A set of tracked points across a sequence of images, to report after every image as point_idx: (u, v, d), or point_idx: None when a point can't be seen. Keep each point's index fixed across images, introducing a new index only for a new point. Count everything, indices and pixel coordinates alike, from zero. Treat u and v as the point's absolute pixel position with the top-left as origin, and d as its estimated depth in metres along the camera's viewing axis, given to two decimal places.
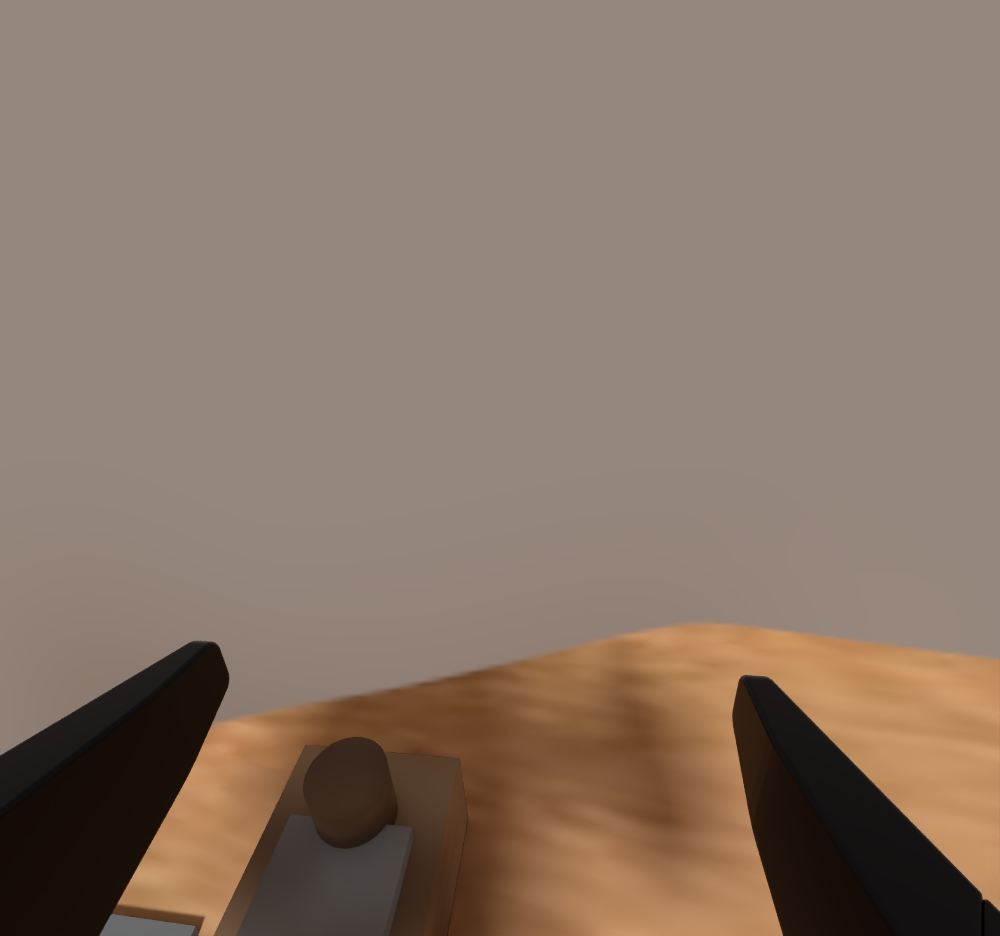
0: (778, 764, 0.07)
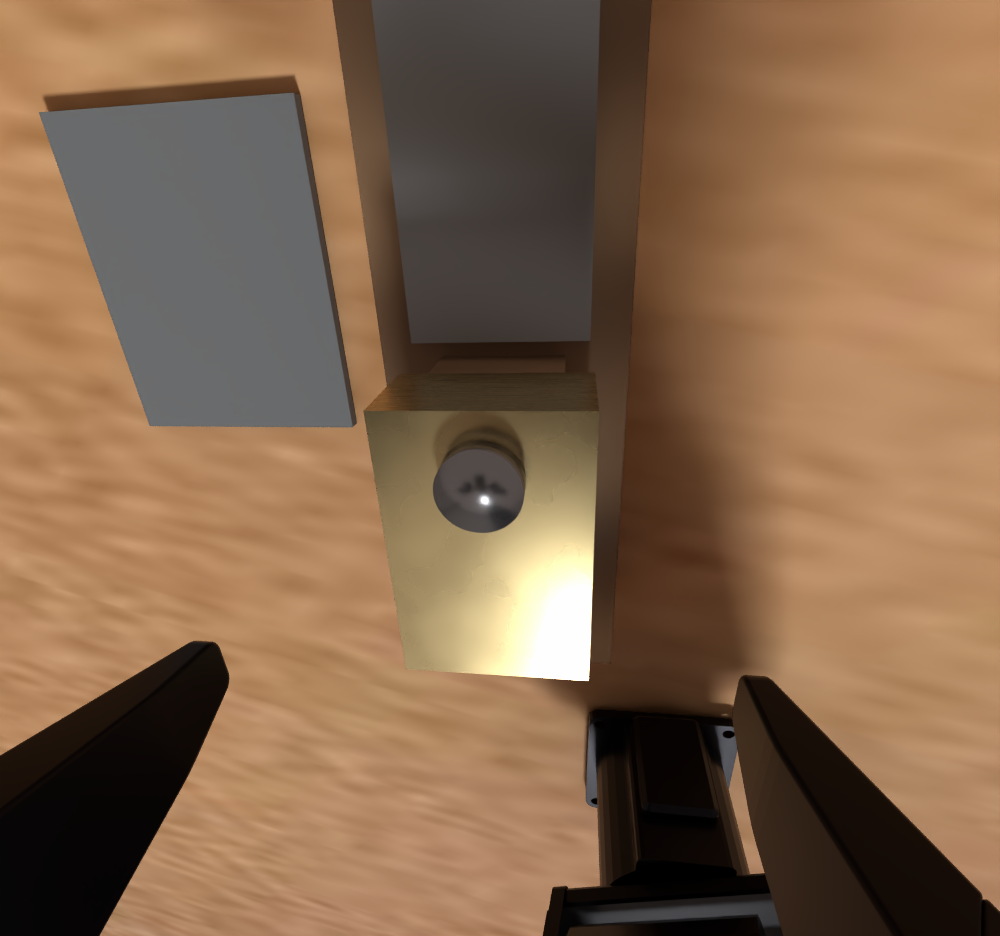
0: (778, 764, 0.07)
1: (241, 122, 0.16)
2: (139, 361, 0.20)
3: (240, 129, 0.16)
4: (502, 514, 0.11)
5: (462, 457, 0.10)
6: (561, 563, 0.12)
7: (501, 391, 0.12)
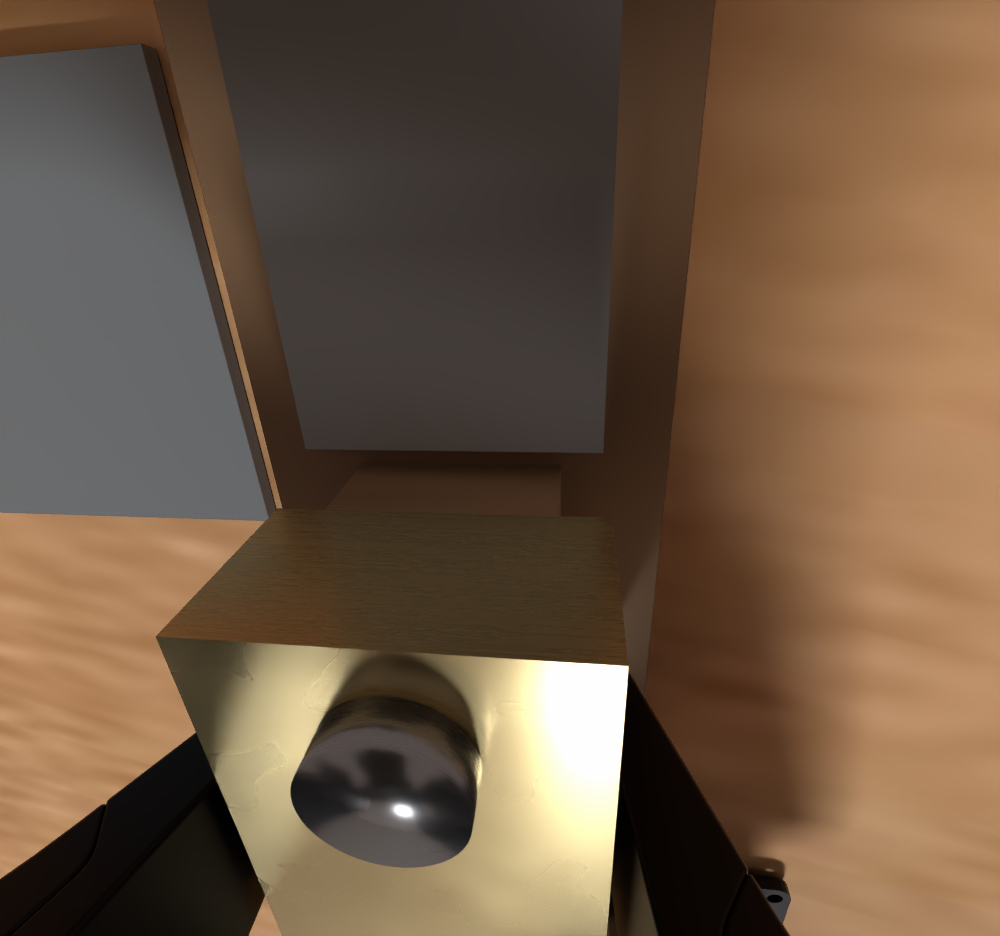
0: None
1: (69, 92, 0.10)
2: None
3: (68, 102, 0.10)
4: (431, 846, 0.05)
5: (341, 756, 0.05)
6: (551, 880, 0.06)
7: (439, 576, 0.06)
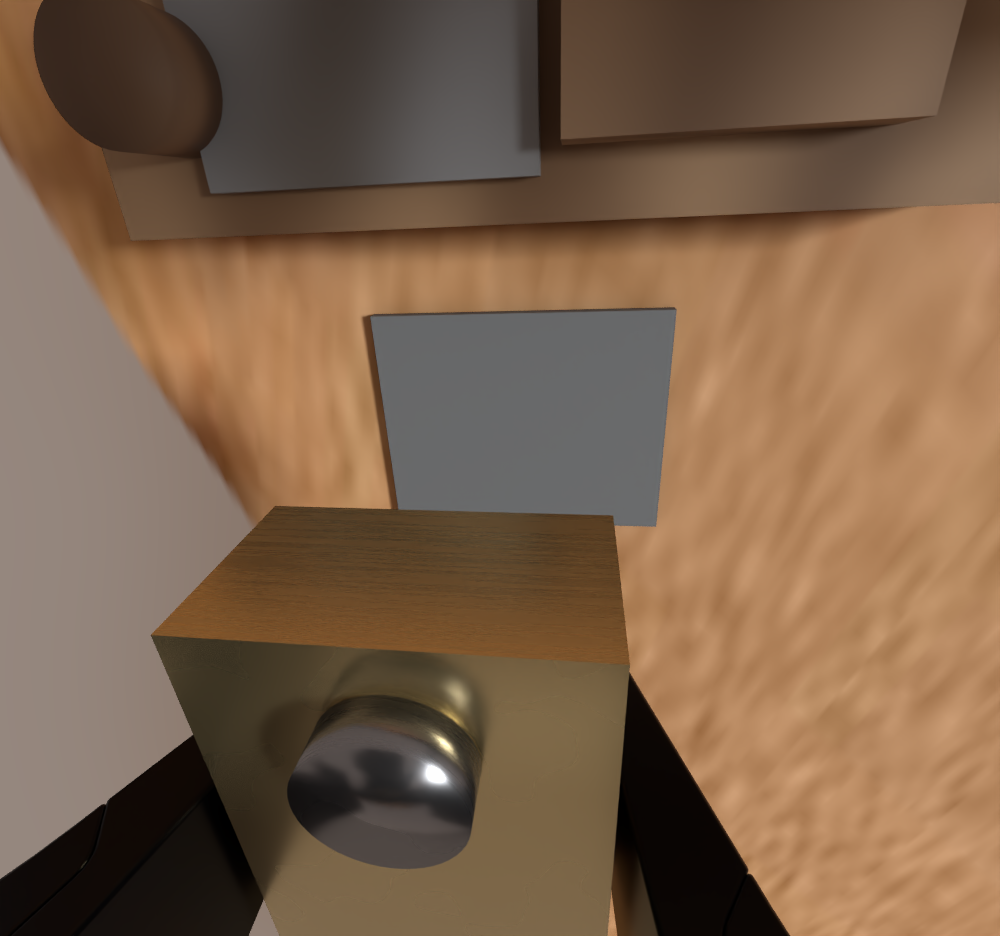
0: None
1: (394, 365, 0.19)
2: (589, 513, 0.21)
3: (399, 368, 0.19)
4: (430, 847, 0.05)
5: (340, 757, 0.05)
6: (551, 881, 0.06)
7: (437, 573, 0.06)
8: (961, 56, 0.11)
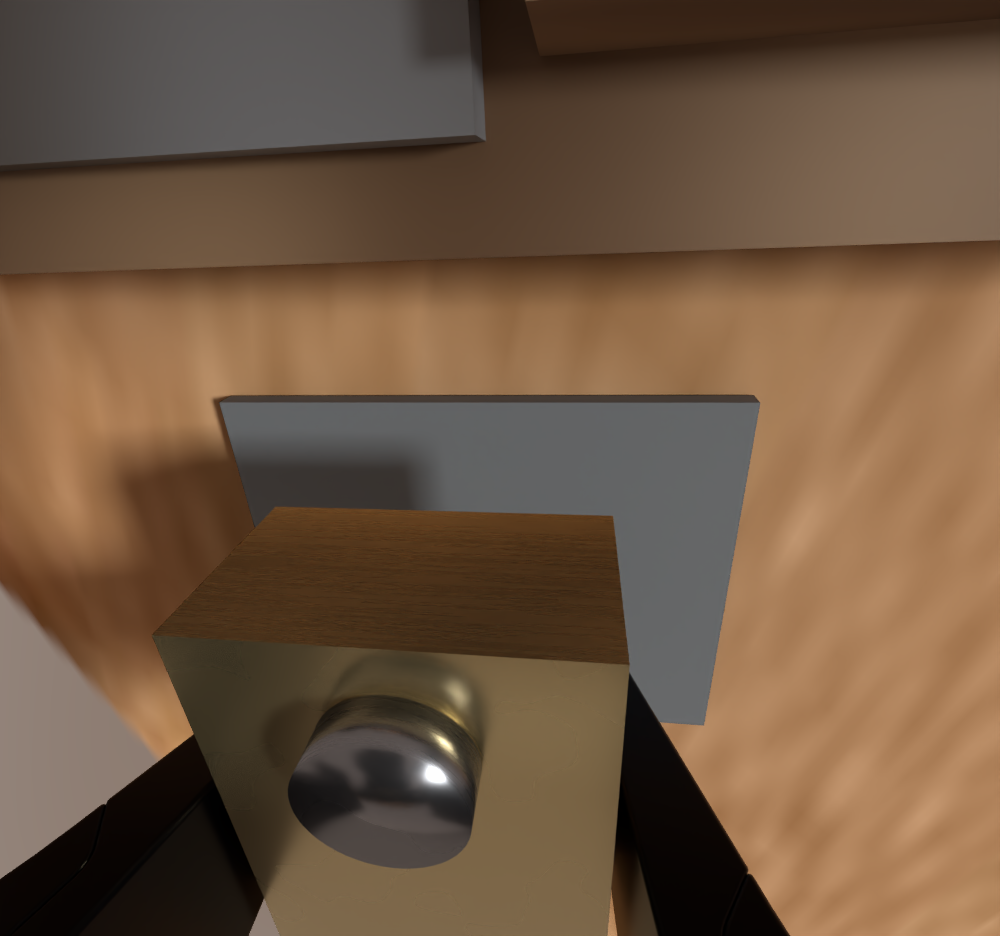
0: None
1: (269, 481, 0.11)
2: None
3: (277, 485, 0.11)
4: (431, 847, 0.05)
5: (341, 756, 0.05)
6: (551, 881, 0.06)
7: (437, 574, 0.06)
8: None
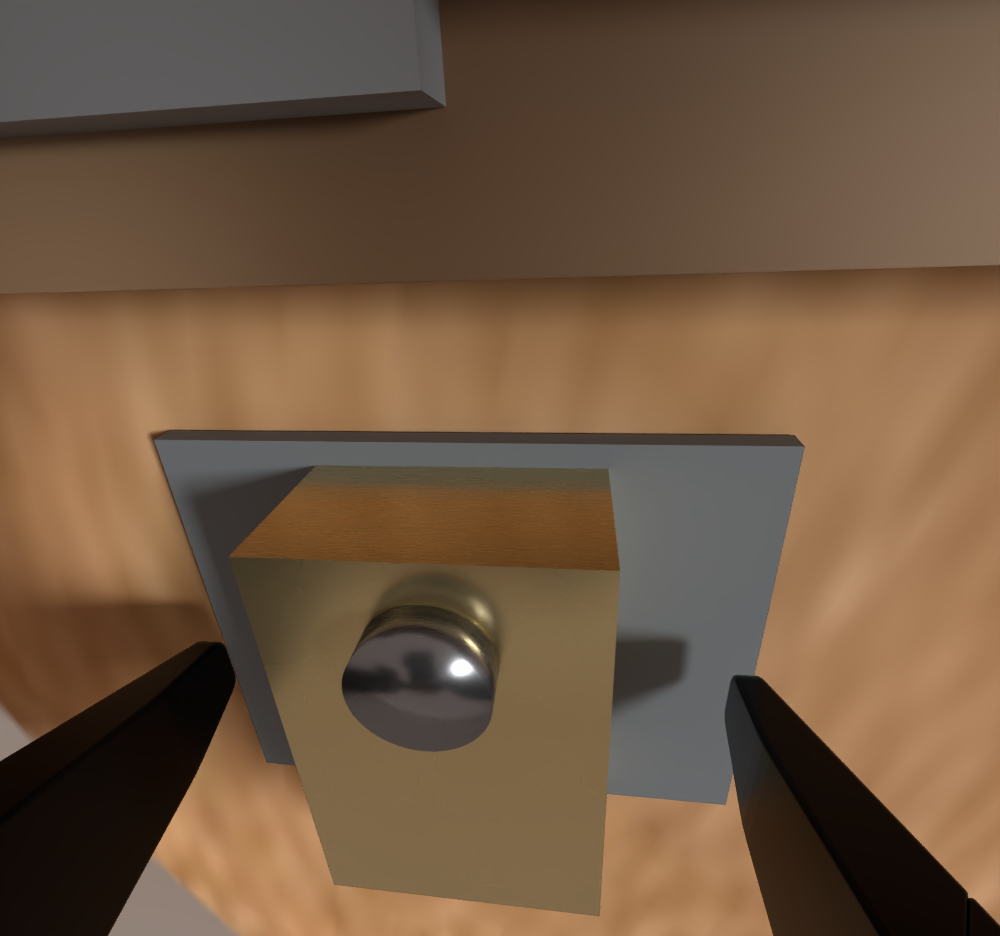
0: (768, 763, 0.07)
1: (217, 529, 0.10)
2: None
3: (227, 534, 0.10)
4: (458, 729, 0.07)
5: (387, 647, 0.06)
6: (556, 775, 0.08)
7: (461, 511, 0.07)
8: None
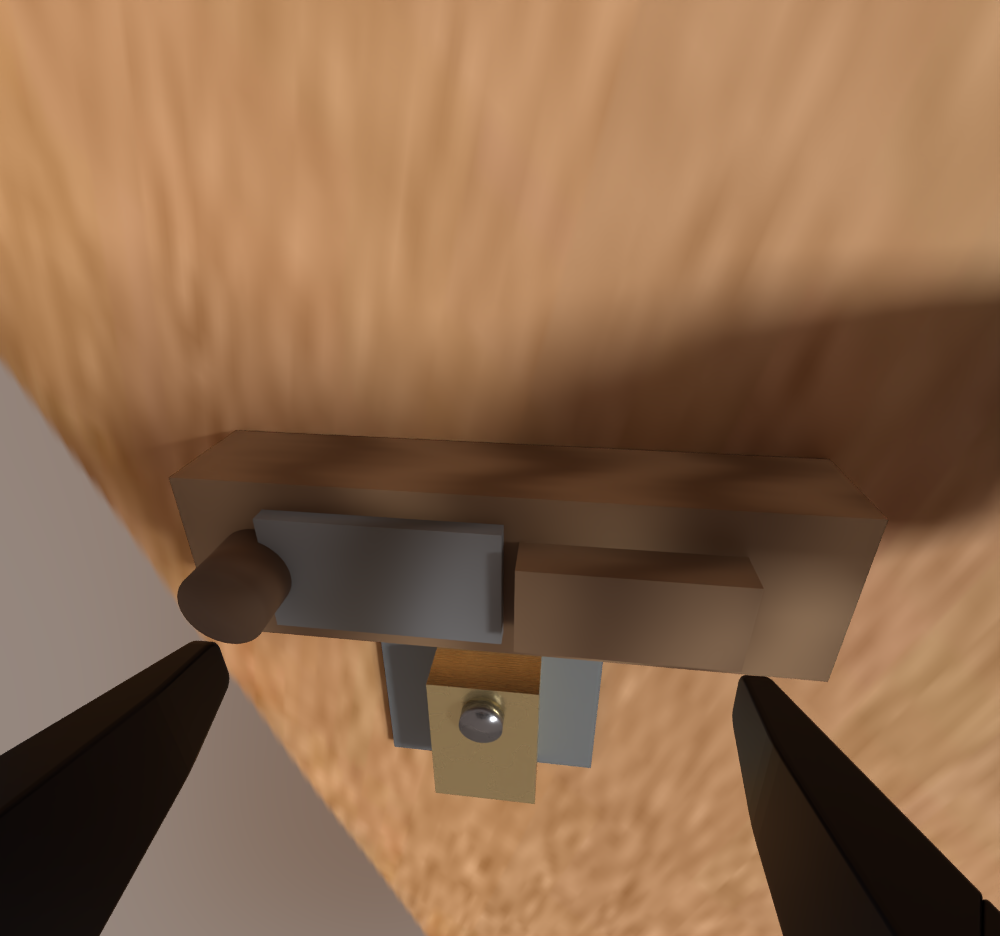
0: (778, 764, 0.07)
1: (396, 657, 0.25)
2: (541, 756, 0.27)
3: (399, 659, 0.25)
4: (491, 736, 0.22)
5: (474, 713, 0.22)
6: (520, 751, 0.24)
7: (493, 668, 0.23)
8: (766, 612, 0.18)
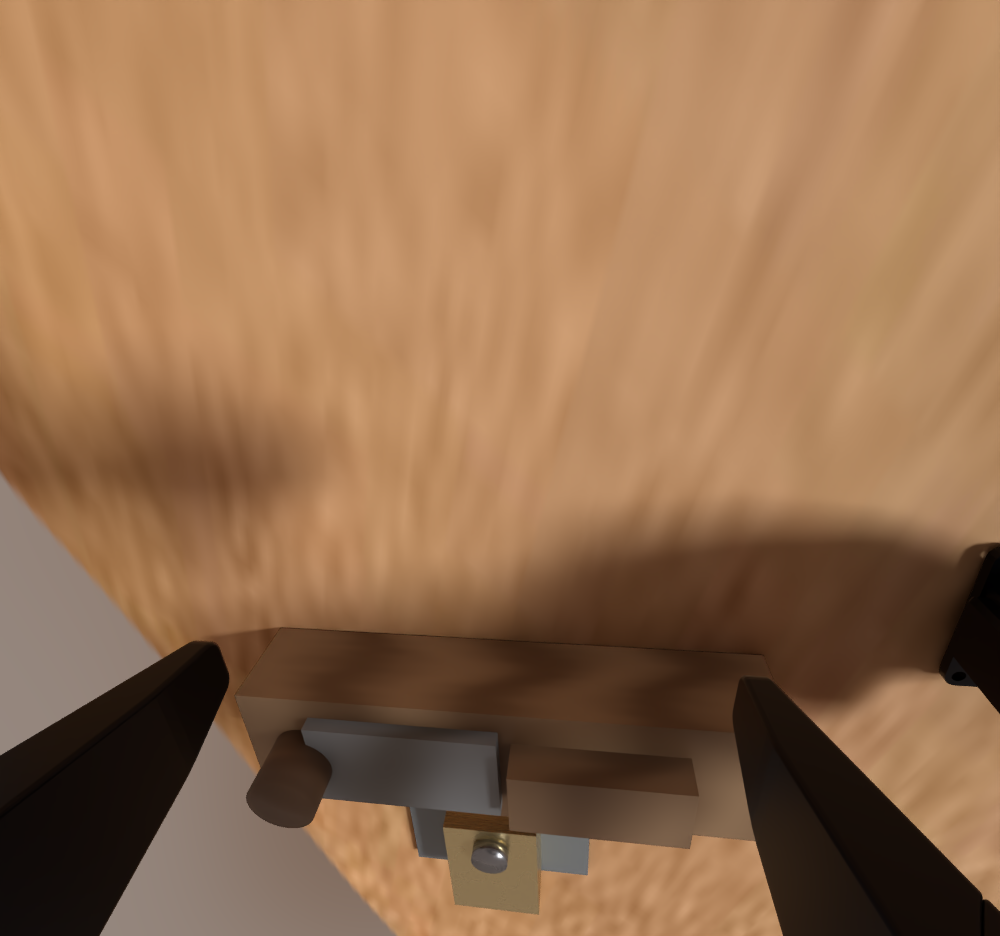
0: (778, 764, 0.07)
1: None
2: (544, 865, 0.32)
3: None
4: (498, 869, 0.27)
5: (483, 853, 0.27)
6: (524, 876, 0.28)
7: None
8: (710, 795, 0.22)
